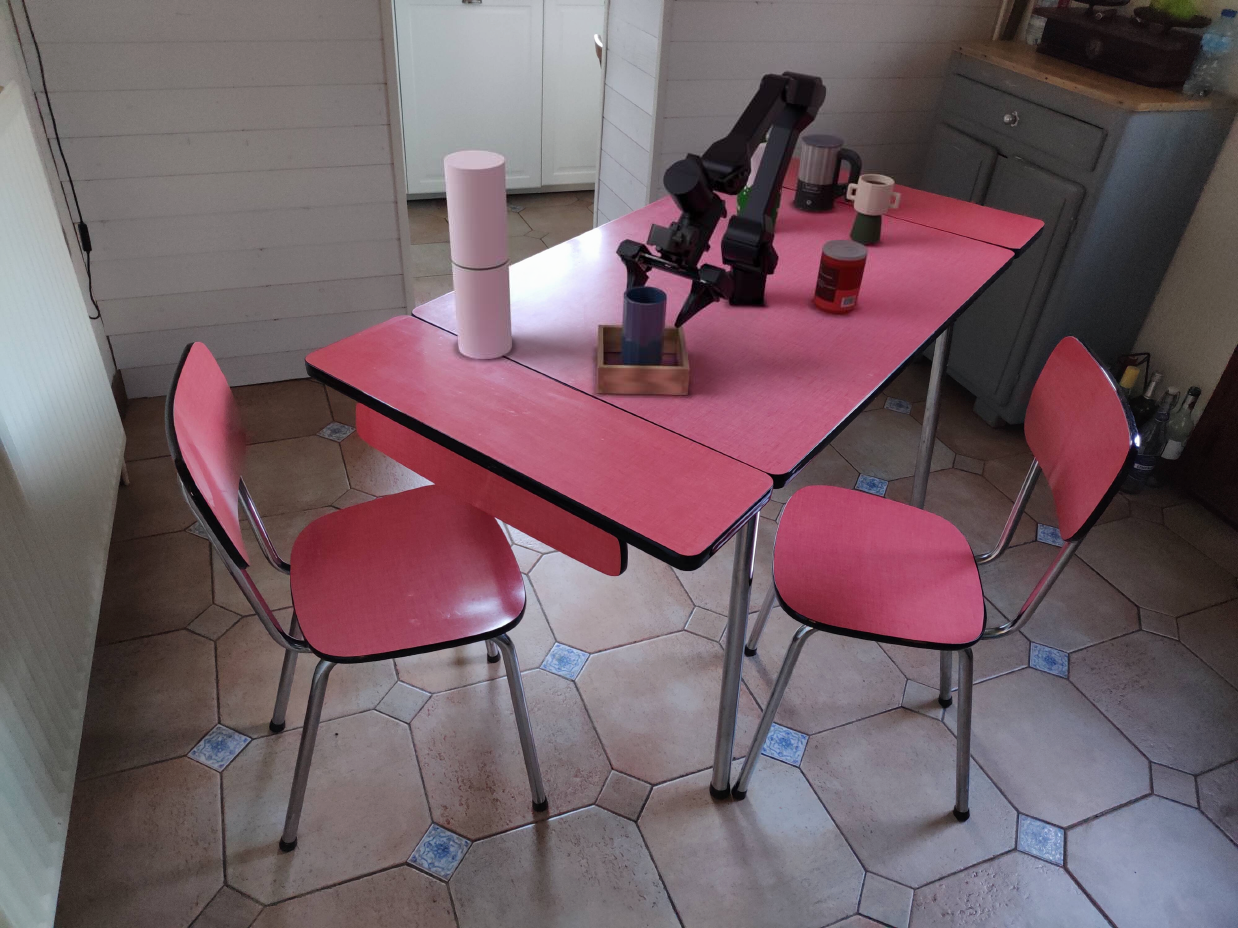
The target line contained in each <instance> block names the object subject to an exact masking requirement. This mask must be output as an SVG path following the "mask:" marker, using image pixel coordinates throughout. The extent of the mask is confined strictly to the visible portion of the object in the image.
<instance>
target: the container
mask: <svg viewBox="0 0 1238 928" xmlns="http://www.w3.org/2000/svg"><path fill="white" fill-rule="evenodd" d="M505 159H506V158H505V157H504V156H503V155H501V154H500V153H497V152H493V151H489V150H481V149H480V150H479V149H478V150H477V149H471V150H470V149H469V150H460V151H456V152H452V153H449V154H447V155H445V157H444V158H443V168H444V169H443V170H444V180H445V193H446V204H447V218H448V230H449V243H450V244H449V245H450V254H451V256H450V257H451V269H452V278H453V279H452V283H453V294H454V307H455V317H456V318H455V319H456V320H455V321H456V330H457V331H456V332H457V343H458V350H459V352H460V353H461V354H462V355H464V356H465V357H468V358H470V359H475V360H476V359H477V360H492V359H497V358H500V357H503V356H505V355H507V354H508V353H510V352H511V350H512V348H513V338H512V337H513V336H512V313H511V310H512V309H511V288H510V286H511V285H510V263H509V262H510V260H509V236H508V235H509V234H508V233H509V232H508V209H507V206H508V205H507V183H506V160H505Z"/></svg>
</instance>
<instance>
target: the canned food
mask: <svg viewBox="0 0 1238 928" xmlns="http://www.w3.org/2000/svg"><path fill="white" fill-rule="evenodd" d="M868 253H869V250H868V248H867V246H865V244H862V243H858V242H856V241H854V240H848V239H834V240H829V241H826V242H825V243H824V244H823V246H822V250H821V255H820V260H819V267H818V272H817V278H816V284H815V290H814V296H813V304H814V307H815V309H817V310H819V311H821V312H823V313H826V314H829V315H838V316H839V315H840V316H841V315H847V314H850V313H852V312H854V311H855V308H856V307H857V305H858V300H859V296H860V292H861V291H860V290H861V286H862V282H863V277H864V272H865V268H866V263H867V259H868Z"/></svg>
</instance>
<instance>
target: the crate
mask: <svg viewBox="0 0 1238 928" xmlns="http://www.w3.org/2000/svg"><path fill="white" fill-rule="evenodd" d="M621 342H622V324H598V325H597V368H596V369H597V371H596V373H597V375H596V377H597V379H596V380H597V383H596V384H597V385H596V386H597V388H596V389H597V391H596V393H597V394H615V395H618V394H619V395H620V394H623V395H664V396H665V395H667V396H671V395H672V396H688V395H689V394H688V393H689V383H690V372H691V368H690V367H691V366H690V362H689V356H688V350H687V343H686V337H685V331H684V326H681V327H680V328H676V327H675V326H674V325H673V326H671V325H669V326H667V325H665V331H664V345H663V354H676V361H677V366H676V365H675V366H674V365H673V366H671V365H669V366H668V365H662V366H631V365H621V364H620V365H619V364H604V353H621Z"/></svg>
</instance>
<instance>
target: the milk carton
mask: <svg viewBox="0 0 1238 928" xmlns="http://www.w3.org/2000/svg"><path fill="white" fill-rule="evenodd" d="M769 135H770V134H766V136H765V137H764V139H763V140H762V142H761V143H760V145H759V146H758V148H757V149H756V151H755V152H754V154H753V156H752V158H751V170H752V171H751V174H750V176H749V179H748V182H747V184H746V186H745V188H744V189H742V190H741V192H740V193H739V194H737V195H736V215H738V214H739V213H740V212H741V211H742V210H743V209H744V208H745V206H746V203H747V200H748V197H749V194H750V191H751V188H752V185H753V182H754V179H755V177H756V174H757V171H758V168H759V165H760V162H761V159H762V156H763V153H764V150H765V147H766V144H767V141H768V138H769ZM783 187H784V183H783V184H782V187H781V190H780V193H779V196H778V199H777V202H776V205H775V208H774V211H773V214H772V217H771V219H772V224H773V229H774V230H775V226H776V222H777V219H778V214H779V211H780V206H781V199H782V193H783Z"/></svg>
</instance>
